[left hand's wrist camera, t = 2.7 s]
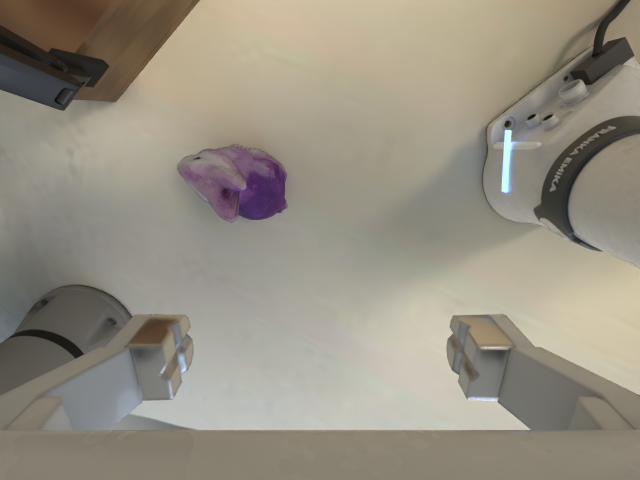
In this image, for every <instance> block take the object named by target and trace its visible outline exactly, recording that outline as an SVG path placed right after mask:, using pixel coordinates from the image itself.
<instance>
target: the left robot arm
mask: <svg viewBox="0 0 640 480" xmlns="http://www.w3.org/2000/svg"><path fill="white" fill-rule="evenodd" d="M629 1H630V0H621V1H620V3H619V4H618V5H617V6H616V8H615V9H614V10H613V11H612V12H611V13H610V14H609V15H608V16H607V17H606V18H605V19H604V20H603V21H602V22H601V24H600V25H599V27H598V29H597V32H596V36H595V40H594V46H591V47H590V48H588V49H587V50H585V51H584V52H583V53H581V54H580V55H579V56H577V57H576V58H575V59H574V60H572V61H571V62H570V63H568V64H567V65H566V66H564V67H563V68H562V69H560V70H559V71H558V72H556V73H555V74H554V75H553V76H551V77H550V78H549V79H547V80H546V81H545V82H543V83H542V84H541V85H539V86H538V87H537V88H535V89H534V90H533V91H531V92H530V93H529V94H528V95H526V96H525V97H524V98H522V99H521V100H520V101H518V102H517V103H516V104H514V105H513V106H512V107H510V108H509V109H508V110H507V111H505V112H504V113H503V114H501V115H500V116H499V117H497V118H496V119H495V120H493V121H492V122H491V123H490V124H489V126H488V128H487V145H488V155H487V159H486V163H485V166H484V172H483V187H484V192H485V195H486V198H487V200H488V202H489V204H490V205H491V207H492V208H493V209H494V210H495V211H496V212H497V213H498V214H500V215H501V216H503V217H504V218H506V219H509V220H511V221H515V222H521V223H534V224H539V225H542V226H544V227H545V228H547V229H548V230H549V231H551V232H553V233H554V234H556V235H558V236H560V237H562V238H564V239H566V240H568V241H570V242H571V241H572V242H574V243H577V244H579V245H581V246H583V247H586V248H588V249H591V250H595V251H602V252H606V253H608V254H610V255H612V256H614V257H616V258H618V259H620V260H623V261H625V262H627V263H629V264H631V265H633V266H635V267H637V268H639V269H640V64H639V63H638V62H637V61H636V60H635V59H634V58H632V57H633V56H634V54H633V52H632V50H631V48H630V46H629V44H628V41H627V39H626V38H625V37H624V38H620V39H616V40H612V41H608V42H607V43H606V44H604V45H603V39H604V35H605V32H606V29H607V27H608V25H609V24H610V22H612V21H613V20H614V19H615V18H616V17H617V16H618V15H619V14H620V12H621V11H622V10H623V9H624V8H625V6H626V5H627V4H628V3H629ZM506 121H508V125H507V127H505V126H504V123H505V122H506ZM189 328H190V323H189V318H188V317H187V316H186V315H162V314H154V315H153V314H138V315H134V316H133V317H132V318H131V319H130V320H129V321H128V322H127V323H126V325H125V326H124V327H123V328H122V329H121V330H120V331H119V332H118V333H117V334H116V335H115V337H114V338H113V339H112V340H111V341H110V342H109V343H108V344H107V345H106V346H105V347H99V348H97V349H95V350H93V351H91V352H89V353H87V354H85V355H82V356H80V357H78V358H76V359H74V360H72V361H70V362H68V363H66V364H64V365H62V366H60V367H58V368H56V369H54V370H51V371H49V372H47V373H45V374H43V375H41V376H39V377H37V378H35V379H33V380H31V381H29V382H27V383H25V384H23V385H21V386H18V387H16V388H14V389H12V390H10V391H8V392H6V393H4V394H2V395H0V480H640V395H638V394H636V393H634V392H632V391H630V390H628V389H625V388H623V387H621V386H619V385H617V384H615V383H613V382H611V381H609V380H607V379H605V378H603V377H601V376H599V375H597V374H595V373H593V372H590V371H588V370H586V369H584V368H582V367H580V366H578V365H576V364H574V363H572V362H570V361H568V360H566V359H564V358H562V357H560V356H558V355H555V354H553V353H551V352H549V351H547V350H545V349H543V348H541V347H535V346H534V345H533V344H532V343H531V342H530V341H529V340H528V339H527V338H526V337H525V335H524V334H523V333H522V332H521V331H520V330H519V329H518V328H517V327H516V326H515V325H514V323H513V322H512V321H511V320H510V319H509V318H508V317H507V316H506V315H503V314H489V315H453V317H452V319H451V322H450V328H451V330H452V332H453V334H452V335H451V336H450V337H449V338H448V340H447V358H448V362H449V365H450V367H451V369H452V371H454V372H455V373H457V374H458V375H459V379H458V383H459V385H460V387H461V389H462V390H463V392H464V394H465V396H466V398H467V400H495V401H498V403H499V404H501V405H502V406H503V407H504V408H505V409H507V410H508V411H509V412H510V413H512V414H513V415H514V416H515V417H516V418H518V419H519V420H520V421H521V422H522V423H524V424H525V425H526V426H527V427H529V428H530V429H531V430H109V429H110V428H112V427H113V426H114V425H115V424H116V423H118V422H119V421H120V420H121V419H123V418H124V417H125V416H126V415H127V414H129V413H130V412H131V411H132V410H133V409H135V408H136V407H137V406H138V405H140V404H141V403H142V401H145V400H173V398H174V396H175V394H176V392H177V390H178V389H179V387H180V385H181V383H182V379H181V375H182V374H183V373H185V372H186V371H188V369H189V367H190V365H191V362H192V357H193V340H192V338H191V337H190V336H189V335H188V334H187V332H188V330H189Z"/></svg>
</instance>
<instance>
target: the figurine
mask: <svg viewBox="0 0 640 480" xmlns="http://www.w3.org/2000/svg"><path fill="white" fill-rule="evenodd" d="M177 170H178V172H179V174H180V175H181V176H182V177H183V178H184V180H185V181H186V182H187V183H188V184H189V185H190V186H191V187H192V188H193V190H194V191H195V192H196V193H197V195H198V196H199V197H200V198H201V199H203V200H204V201H206V202H209V203H210V204H211V206H212V207H213V209H214V210H215V211H216V212H217V214H218V215H219V216H220V217H221V218H222V219H224V220H226V221H227V222H234V221H236V219H237V218H238V215H240V216H242V217H244V218H247V219H251V220H261V219H266V218H269V217H271V216H273V215H275V214H276V213H281V212H284V211H286V210H287V207H288V204H287V202H286V200H285V197H284V196H285V180H286V177H287V174H286V172H285V169H284V167H283V166H282V165H281V164H280V163H279V162H278V161H277V160H275V159H274V158H272V157H271V156H270V155H268V154H267V153H265V152H263V151H261V150H259V149H254V148H250V149H247V148H244V147H242V146H240V145H231V146H229V147H225V148H219V149H217V150H214V149H205V150H202V151H201V152H199V153H198V154H197V155H191V156H187V157H185V158H183V159H182V160H181V162H179V164H178V165H177Z"/></svg>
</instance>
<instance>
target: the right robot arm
mask: <svg viewBox="0 0 640 480" xmlns="http://www.w3.org/2000/svg"><path fill="white" fill-rule="evenodd" d="M109 67H110V66H109V65H108V64H107V63H106V62H105V61H104V60H102V59H98V58H93V57H89V56H85V55H81V54H76V53H72V52H68V51H64V50H59V49H55V48H51V49H50V50H49V52H46V51H45V50H43V49H41V48H40V47H38V46H36V45H34V44H33V43H31V42H29V41H27V40H26V39H24V38H22V37H21V36H19V35H17V34H15V33H14V32H12V31H10V30H8V29H7V28H5V27H3V26H1V25H0V89H1V90H3V91H6V92H9V93H12V94H15V95H18V96H21V97H24V98H27V99H30V100H33V101H36V102H38V103H41V104H44V105H47V106H50V107H53V108H56V109H59V110H65V109H66V108H67V106H68V105H69V104H70V103H71V101H72V100H73V99H74V97H75V96H76V95H77V93H78V92H79V91H80V90H81V89H83V87H92V88H93V87H94V86H95V85H96V84H97V82H98V81H99V80H100V78H101V77H102V76H103V75H104V73H105V72H106V71H107V69H108V68H109ZM29 306H30V305H29ZM26 308H27V307H26ZM131 318H132V317H131V315H130V314H129V312H128V311H127V310H126V309H125V307H124V306H123V305H122V304H121V303H120V302H118V301H117V300H116V299H115V298H113V297H112V296H110V295H108V294H107V293H105V292H103V291H100V290H98V289H95V288H92V287H87V286H80V285H70V286H64V287H60V288H57V289H55V290H53V291H51V292H49V293H48V294H46V295H45V296H43V297H42V298H41V299H40V300H39V301H38V302H37V303H36V304H34V306H33V307H32V308H31V310H30V311H29V312H28V314H27V315H26V317H25V318H24V320H23V321H22V323H21V324H20V326H19V327H18V328H17V330H16V331H15V333H14V334H13V335H12V336H10V337H9V338H8V339H6V340H5V341H3V342H2V343H0V395H2V394H4V393H6V392H8V391H10V390H12V389H14V388H16V387H18V386H21V385H23V384H25V383H27V382H29V381H31V380H33V379H35V378H37V377H39V376H41V375H43V374H45V373H47V372H49V371H51V370H54V369H56V368H58V367H60V366H62V365H64V364H66V363H68V362H70V361H72V360H74V359H76V358H78V357H80V356H82V355H85V354H87V353H89V352H91V351H93V350H95V349H97V348H99V347H105V346H106V345H107V344H108V343H109V342H110V341H111V340H112V339H113V338H114V337H115V335H116V334H117V333H118V332H119V331H120V330H121V329H122V328H123V327H124V326H125V325H126V323H127V322H128V321H129V320H130V319H131Z"/></svg>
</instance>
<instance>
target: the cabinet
mask: <svg viewBox="0 0 640 480" xmlns="http://www.w3.org/2000/svg"><path fill="white" fill-rule="evenodd" d="M198 1H199V0H0V25H1V26H3V27H5V28H7V29H8V30H10V31H12V32H14V33H15V34H17V35H19V36H21V37H22V38H24V39H26V40H27V41H29V42H31V43H33V44H34V45H36V46H38V47H40V48H41V49H43V50H45V51H46V52H49V50H50V49H51V48H55V49H59V50H64V51H68V52H72V53H76V54H81V55H85V56H89V57H93V58H98V59H102V60H104V61H105V62H106V63H107V64H108V65H109V66H110V67H109V68H108V69H107V71H106V72H105V73H104V75H103V76H102V77H101V78H100V80H99V81H98V82H97V84H96V85H95V86H94V87H93V88H92V87H83V89H81V90H80V91H79V92H78V93H77V95H76V96H75V97H74V99H77V100H93V101H109V102H116V101H117V100H118V98H119V97H120V96H121V95H122V94H123V92H124V91H125V90H126V89H127V88H128V86H129V85H130V84H131V83H132V81H133V80H134V79H135V78H136V77H137V75H138V74H139V73H140V72H141V71H142V69H143V68H144V67H145V66H146V64H147V63H148V62H149V61H150V60H151V58H152V57H153V56H154V55H155V54H156V52H157V51H158V50H159V49H160V47H161V46H162V45H163V44H164V43H165V41H166V40H167V39H168V38H169V37H170V35H171V34H172V33H173V32H174V30H175V29H176V28H177V27H178V26H179V24H180V23H181V22H182V21H183V20H184V18H185V17H186V16H187V15H188V13H189V12H190V11H191V10H192V9H193V7H194V6H195V5H196V4H197V3H198Z"/></svg>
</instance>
